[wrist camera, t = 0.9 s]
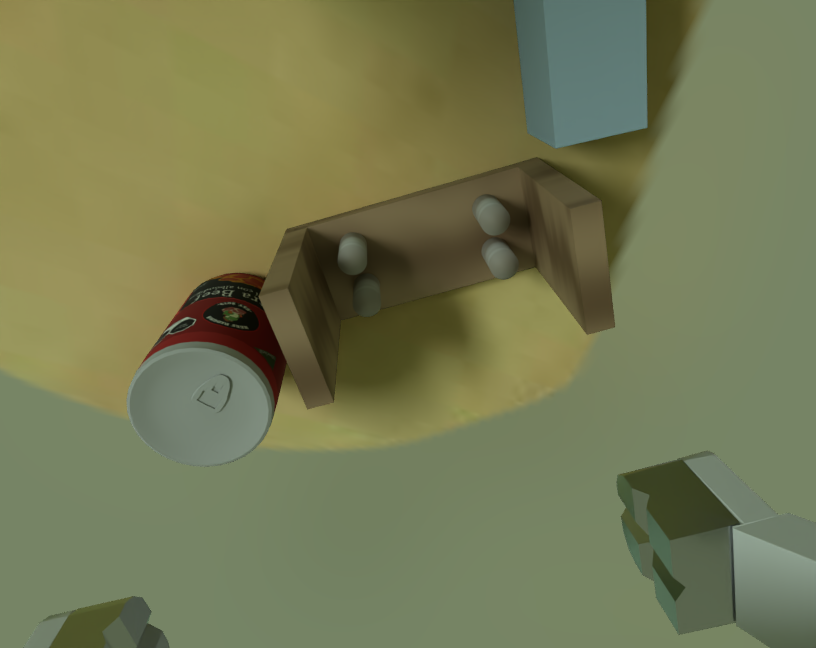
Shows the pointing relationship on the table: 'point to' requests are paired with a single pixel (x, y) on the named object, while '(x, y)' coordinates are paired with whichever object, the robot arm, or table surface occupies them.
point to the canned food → (210, 376)
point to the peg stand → (434, 259)
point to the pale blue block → (582, 68)
